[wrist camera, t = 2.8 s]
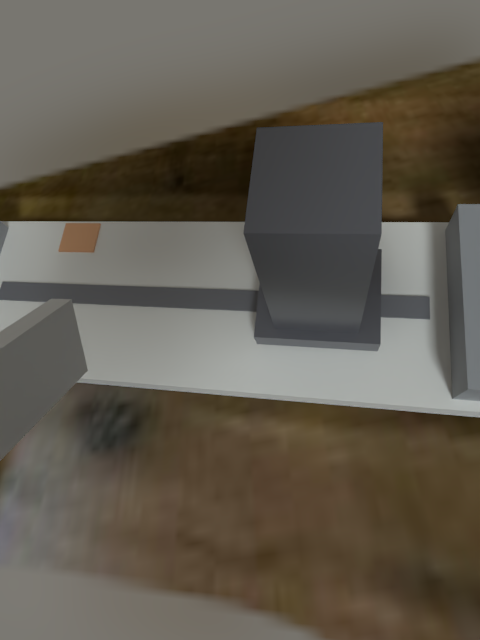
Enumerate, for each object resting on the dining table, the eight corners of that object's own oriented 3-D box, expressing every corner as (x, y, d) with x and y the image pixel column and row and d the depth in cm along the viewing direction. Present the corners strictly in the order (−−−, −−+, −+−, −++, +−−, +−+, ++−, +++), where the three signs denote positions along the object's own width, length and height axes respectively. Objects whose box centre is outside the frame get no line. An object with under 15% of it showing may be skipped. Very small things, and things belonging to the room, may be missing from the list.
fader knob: (378, 260, 23) (416, 107, 14) (377, 351, 21) (419, 250, 12) (266, 257, 24) (229, 116, 15) (257, 344, 23) (209, 247, 13)
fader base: (468, 236, 24) (493, 195, 21) (479, 417, 21) (511, 404, 18) (5, 233, 31) (-38, 200, 27) (-41, 372, 27) (-96, 356, 24)
